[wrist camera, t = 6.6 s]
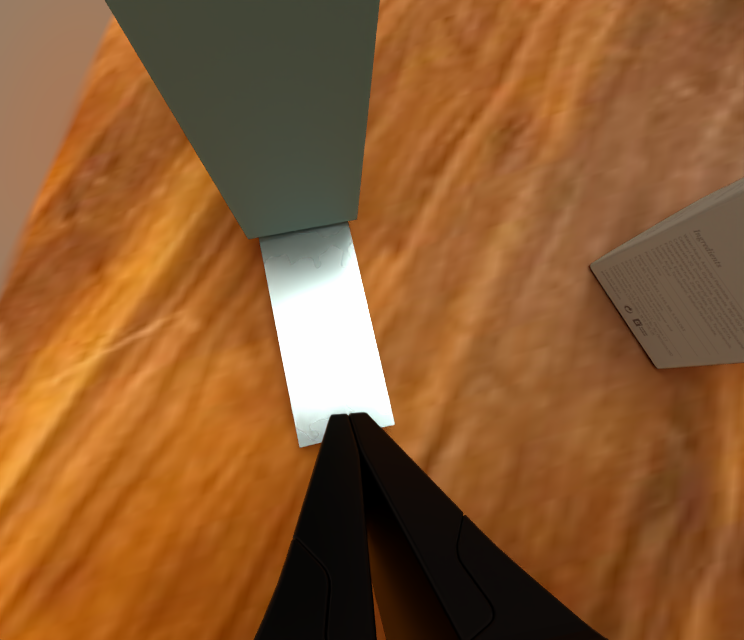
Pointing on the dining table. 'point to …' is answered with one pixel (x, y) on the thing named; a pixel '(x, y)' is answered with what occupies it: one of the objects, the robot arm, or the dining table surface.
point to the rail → (323, 328)
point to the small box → (684, 283)
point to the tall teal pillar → (266, 98)
